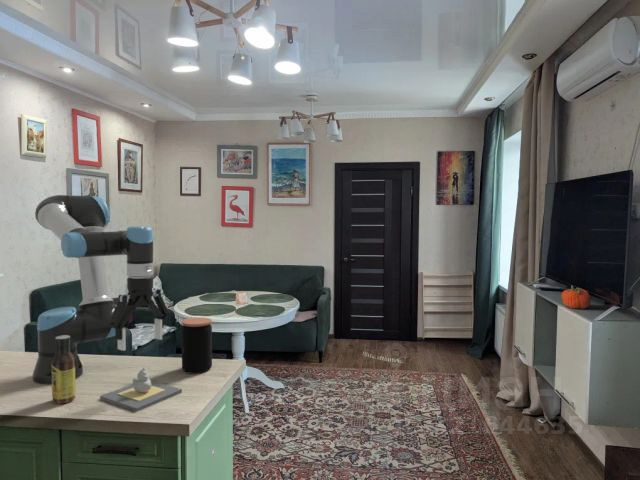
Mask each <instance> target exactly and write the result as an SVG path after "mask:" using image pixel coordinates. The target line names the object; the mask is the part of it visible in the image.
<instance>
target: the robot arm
mask: <svg viewBox="0 0 640 480" xmlns="http://www.w3.org/2000/svg"><path fill="white" fill-rule="evenodd" d="M34 215H35V219H36V222H37V223H38V224H39V225H40V226H41V227H42V228H44V229H45V230H48V231H49V230H50V231H51V232H52V233H53V234H54V235H55V236H56V237H57V238H58V239H59V240H60V247H61V252H62V254H63V256H64V257H65V258H69V259H70V258H72V259H74V258H75V259H77V260H78V261H77V262H78V268H79V276H80V277H79V279H80V285H81V294H82V301H81V302H80V303H79V305H78V308H79V309H78V310H77V308H76V307H75V306H62V307H56V308H52V309H49V310H46V311H44V312H42V313H40V314H39V316H38V318H37V326H36V329H37V351H38V352H37V353H38V357H37V360H36V363H35V366H34V368H33V372H32V381H33V382H34V383H36V384H43V385H45V384H47V385H49V384H51V385H52V368H51V363H52V361H53V358H54V355H55V352H56V343H55V338H56V337H58V336H62V335H69V336H70V351H71V353H72V354H73V356H74V359H75V379H77V378H79V377H81V376H82V375H83V373H84V370H83V369H84V368H83V364H82V361H81V359H80V356H79V354H78V348H77V347H78V346H77V345H78V344H82V343H88V342H93V341H99V340H105V339H108V338H113V337H115V340H117V350H120V351H126V348H127V347H126V344H127V343H126V342H127V341H126V340H127V339H126V338H127V337H126V328H125V325H126V323H127V322H128V320H129V319H130V317H131V316H132V314H133V312H134V311H135V310H137V308H141V307H147V308H148V309H149V311H151V313H152V314H153V315H154V316H155V317H156V318H154V339H155V340H163V329H164V320H166V319H167V317H169V315H170V313H169V311H168V308H167V306H166V303H165V301H164V299H163V297H162V291H161V289H159V288H154V277H153V275H154V239H155V238H154V233H153V228H152V227H151V226H146V225H145V226H142V225H141V226H140V225H137V226H136V225H133V226H132V225H131V226H129V227H127V229H126V230H117V231H105V230H106V229H105V227H106V226H108V225H109V222H110V219H109V218H110V211H109V207H108V205H107V202H106V201H105V200H104V199H103V198H102V197H100V196H96V195H95V196H93V195H72V194H70V195H67V194H57V195H52V196H49V197H46V198H44V199H43V200H41V201H40V202H39V204H38V205H36V208H35V211H34ZM106 256H108V257H109V256H126V276H127V279H126V285H127V286H126V288H127V291H128V293H127V294H126V295H125V294H119V295H118V297H117V298H118V299H117V303H116V304H115V301H114V299H113V298H111V297H110V296H109V287H108V281H107V273H106V263H105V257H106ZM152 298H153V299H154V300H153V299H152ZM155 303H156V304H155Z"/></svg>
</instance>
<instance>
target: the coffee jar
mask: <svg viewBox="0 0 640 480" xmlns="http://www.w3.org/2000/svg"><path fill="white" fill-rule="evenodd" d="M211 324H212V319H211V318H209V317H190V318H186V319H182V320H181V325H182V328H181V367H182V370H183V371H184V372H185V373H187V374H201V373H203V374H204V373H206V372H208V371H210V369H211V368H212V366H213V326H212V325H211Z"/></svg>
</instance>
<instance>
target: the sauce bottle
mask: <svg viewBox="0 0 640 480" xmlns="http://www.w3.org/2000/svg"><path fill="white" fill-rule="evenodd" d="M55 343H56V352H55V355H54V358H53V361H52V363H51V368H52V384H51V396H52V397H51V398H52V401H53V403H55V404H56V405H58V404H61V405H63V404H67V403H71V402H73V401H74V400H75V398H76V394H77V393H76V390H77V389H76V378H75V359H74V356H73V354H72V353H71V351H70V336H69V335H62V336H58V337H56V338H55Z"/></svg>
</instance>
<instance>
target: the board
mask: <svg viewBox="0 0 640 480" xmlns="http://www.w3.org/2000/svg"><path fill="white" fill-rule="evenodd" d="M150 381H151V389H150V390H149V391H147V392H144V393H140V392H137V391H135V390H134V384H133V383H132V384H129V385H127V386H124V387H121V388H119V389H118V388H117V389H116V390H113V391H109V392H107V393H105V394H102V395H100V396H99V399H100V400H101V401H104V402H107V403H110V404H112V405H116V406H119V407H122V408H125V409H127V410H131V411H133V412H136V413H137V412H140V411H143V410H145V409H147V408H149V407H151V406H154V405H156V404H158V403H160V402H163V401H165V400H167V399H169V398H173V397H174V396H177V395H179V394H181V393H182V391H183V389H182V388H178V387H175V386H171V385H170V384H169V385H167V384H164V383H161V382H158V381H154V380H151V379H150Z"/></svg>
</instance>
